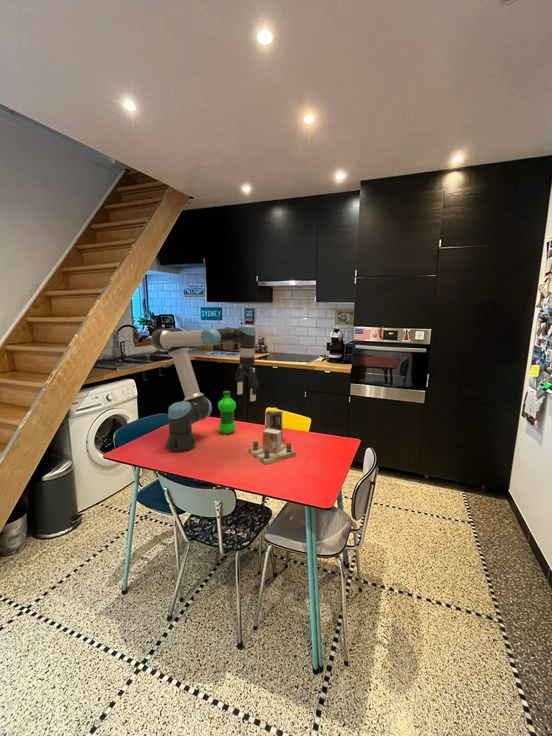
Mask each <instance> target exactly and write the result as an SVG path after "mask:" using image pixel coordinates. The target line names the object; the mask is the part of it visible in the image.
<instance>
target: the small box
mask: <svg viewBox="0 0 552 736" xmlns="http://www.w3.org/2000/svg"><path fill="white" fill-rule="evenodd" d="M281 444H282V442H281V430H274V429H268V428H267V429H266V428H265V430H263V432H262V445H263V451H265V449H269V452H271V453H276V454H277V453H278V452H279V451H280V450H281Z"/></svg>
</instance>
